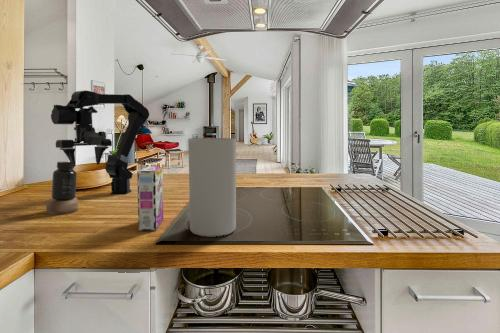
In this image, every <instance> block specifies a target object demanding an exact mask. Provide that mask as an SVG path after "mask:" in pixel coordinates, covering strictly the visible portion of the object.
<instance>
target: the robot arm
mask: <svg viewBox="0 0 500 333" xmlns="http://www.w3.org/2000/svg"><path fill="white" fill-rule="evenodd" d="M71 94H72V95H71V97H70V100H69V101H68V103H67V104H66V105H60V104H53V108H52V110H51V114H50V119H51V122H52V123H53V124H54V125H73V124H74V123H75V124H74V125H75V127H73V131H75V137H74V139H57V140H56V141H55V148H57V149H59V150H60V151H63V153H64V154H65V155H66V158H67V159H68V162H73V163H74V168H75V167H76V157H75V156H76V155H75V152H76V148H75V147H78V146H79V147H81V146H94V154H95V163H96V165H100V163H101V160H102V158H103V155H104V152H105V151H106V150H107V149H109V147H113V141H112V140H111V139H110V138H107V134H106V131H99V132H96V129H95V127H93V125H94V124H93V114H97V113H98V111H97V109H95V108H94V107H93V106H95V105H100V104H102V105H103V104H104V105H105V104H107V105H108V104H109V105H110V104H112V105H113V104H114V105H117V104H118V105H119V104H121V105H122V107H123V108H124V111H125V112H126V113H127V114H128V115H127V122H128V124H127V127H126V129H125V131H124V133H123V136H122V138H121V141H120V143H119V145H118V148H117V149H116V152H115V154H113V155H108V157H107V161H106V162H105V164H104V165H105V167H104V169H105V171H106V173H107V174H108V176H109V178H110V179H111V182H110V183H111V184H110V187H111V192H110V194H112V195H115V194H117V195H121V194H123V195H126V194H129V193H131V192H132V191H133V190H132V189H131V185H130V184H131V183H130V182H131V181H130V179H132V178H133V173H132V171H130V170H129V168H128V167H129V159H128V157H129V154H130V152H131V150H132V147H133V145H134V142H135V141H136V138H137V135H138V132H139V130H140V129H141V127H142V126H143V125H144V124H146V123H147V121H148V119H149V117H150V111H149V108H147V107H146V106H144V104H142V103H141V102H139V101H138V100H137V99H136V98H134V97H133V96H132V95H131V94H129V93H128V94H115V93H114V94H112V93H111V94H110V93H108V94H107V93H99V92H98V93H97V92H94V91H90V90H86V89H85V90H77V91H74V92H72V93H71ZM85 107H88V108H85ZM77 109H78V110H77Z"/></svg>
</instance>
